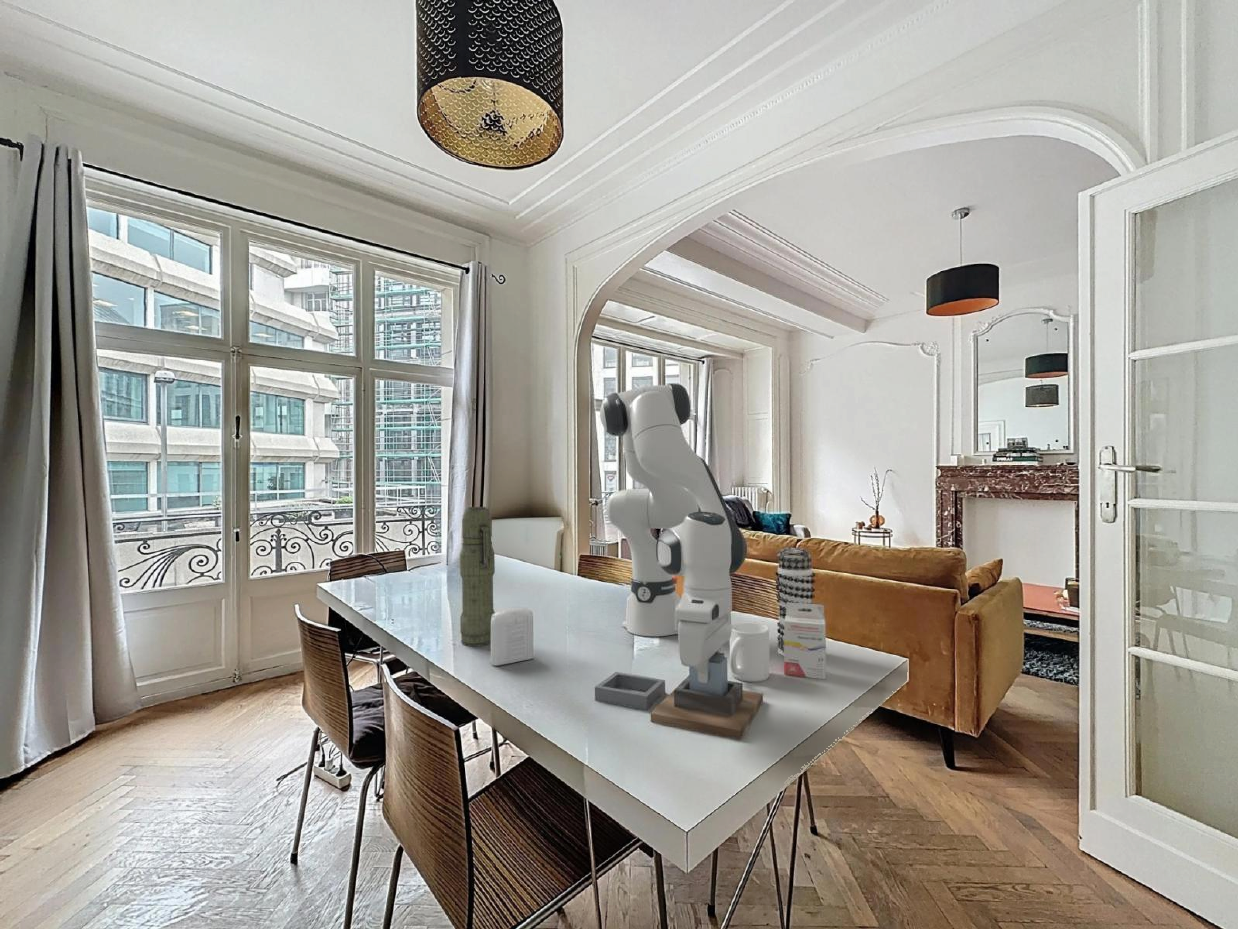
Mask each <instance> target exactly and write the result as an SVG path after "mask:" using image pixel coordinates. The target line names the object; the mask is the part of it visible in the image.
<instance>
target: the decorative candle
mask: <svg viewBox="0 0 1238 929" xmlns="http://www.w3.org/2000/svg"><path fill="white" fill-rule="evenodd" d="M776 556H777V557H778V566H777V572H775V576H776V579H775V583H776V585H775V590H776V591H778V592H777V593H776V598H777V600H776V604H777V605H778V610H779V614H778V622H777V633H778V634H779V635H778V636H777V641H778V642H777V647H778V649H777V652H778V653H777V654H779V655H780V654H781V655H780V656H782V655H783V657H784V622H785V616H786V603H787V602H790V603H804V604H815V603H814V602H813V601H812V600H813V599H815V598H816V596H815V594H813V592H815V591H816V589H815V588H814V587H813V586H812V585H814V584H815V583H816V580H815V579H814V577H816V573H815V572H813V567H812V557H813V556H812V554H810V553H809V551H808V550H807V549H806V548H802V547H784V548H782V549H781V550H780V552H779V553H777V554H776ZM798 610H799V611H805V612H811V611H812V610H811V609H807V608H805V607H804V608H799V609H798Z"/></svg>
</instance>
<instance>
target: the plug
mask: <svg viewBox="0 0 1238 929" xmlns="http://www.w3.org/2000/svg"><path fill="white" fill-rule="evenodd" d="M688 668H689V670H688V671H689V674H688V676H689V684H690V690H693V691H699V692H705V693H710V694H716V695H722V696H726V695H727V693H728V681H729V680H728V656H726V655H725V653H723V652H720V653H718V652H716V653H715V654H714V655H713V656H712V657H711V658H710V659H709V663H708V671H710V679H709V680H708V682H706V683H703V682H699V681H698V672H697V669H696V668H695V667H688Z"/></svg>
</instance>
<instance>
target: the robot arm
mask: <svg viewBox="0 0 1238 929" xmlns="http://www.w3.org/2000/svg"><path fill="white" fill-rule="evenodd" d="M691 411H692V401H691V398H690V395H689V393H688V391H687V389H686V388H685V386H683V385H682V384H679V383H668V384H659V385H658V384H657V385H647V386H642V387H639V388H633V389H629V390H624V391H621V392H619V393H617V392H613V393H611V394H607V395H606V396H604V398H603V399H602V401H601V406H600V409H599V419H600V421H601V424H602V426H603V427H604V429H605V431H606V433H608V434H609V435H611V436H613V437H623V439H622V441H623V450H624V458H625V466H626V472H627V474H628V475H629V477H630V478H631V479H632V480H633V481H635V482H636V483H638V484H641V485H643V486H644V487H646V488H628V489H622V490H617V491H613V492H612V493H611V494H610V496H609V497H608V499H607V501H606V504H605V512H606V513H605V514H606V516H607V519H608V521H609V522H610V523H611V524H612V525H613V526H614V527H615V528H617V530H619V531H620V532H621V534H622V535H623V536H624V538H625V539H626V541H627V543H628V546H629V549H630V554H631V555H630V556H631V564H632V565H631V567H632V578H631V579H630V592H631V594H630V595H629V596H628V597H627V599H626V613H625V620H624V621H622V623H621V626H622V627H623V628H625V629H626V630H627V632H629V633H630V634H633V635H637V636H643V637H665V636H671V635H678V652H679V653H678V654H679V655H678V656H679V660H680V662H681V664H682V666H684V667H688V668H689V667H695V668H696V669H697V672H698V681H699V682H703V683H706V682H708V680H709V679H710V671H708V663H709V659H710V658H711V657H712V656H713V655H714V654H715V653H716V652H718V653H722V647H723V645H725V644H726V643H727V642H728V641H730V637H731V632H732V611H733V603H732V602H733V594H732V593H733V592H732V591H733V589H732V588H733V587H732V585H733V584H732V580H731V577H730V575H732V574H735V573H737V571H738V570H739V569H740V568H741V567H742V565H743V564H744V562H745V560H746V558H747V555H748V544H747V540H746V538H745V535H744V534H743V533H742V531H741V529H740V528H739V525H737V523H736V522H735V520H734V519H733V516H732V514H731V512H730V509H729V508H728V505H727V503H726V501H725V499H724V497H723V495H722V493H721V490H720V488H719V486H718V483H717V481H716V480H715V477H714V475H713V473H712V471H711V469H710V466H709V465H708V464H707V462H706V460H705V459H704V458H702V457H700V455H698V454H697V453H696V452H695V451H694V450H693V449H692V447H691V446H690V445H689V443H688V441H687V440H686V437H685V435H684V432H683V428H682V425H684V424H686V423H687V422H688V420H690V417H691ZM699 510H700V511H699ZM651 529H659V530H661V529H665V530H663V531H662V533H661V534H660V535H659V537H658V538H657V539H656V538H655V537H654V536H653V534H652V532H651ZM677 576H683V578H684V579H683V584H682V585H683V587H682V590H683V592H682V595H681V597H680V595H678V593H677V592H676V584H678V578H677Z"/></svg>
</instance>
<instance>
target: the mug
mask: <svg viewBox="0 0 1238 929" xmlns="http://www.w3.org/2000/svg"><path fill="white" fill-rule="evenodd" d="M731 625H732V632H731V637H730V639H729V671H730V674H731V676H732V677H733V678H734V679H736V680H738V681H742V682H746V683H747V682H748V683H760V682H763V681H766V680H767V679H768V678H769V677H770V671H771V670H770V669H771V667H770V629H769V627H768V626H767V625H765V624H761V623H756V622H736V623H733V624H732V623H731Z"/></svg>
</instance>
